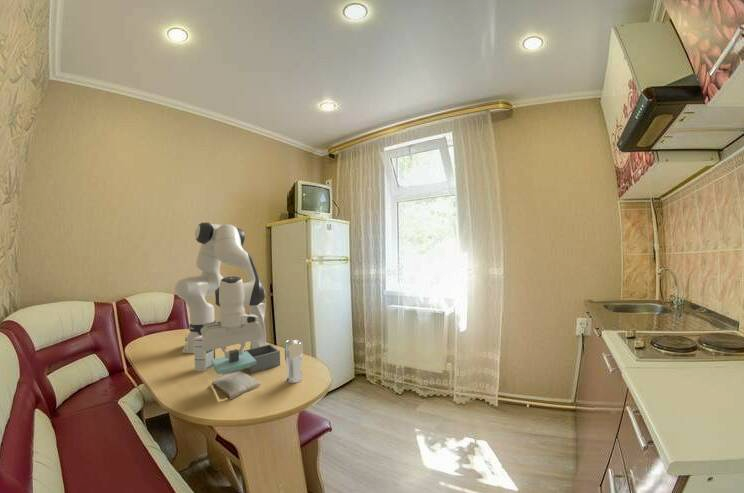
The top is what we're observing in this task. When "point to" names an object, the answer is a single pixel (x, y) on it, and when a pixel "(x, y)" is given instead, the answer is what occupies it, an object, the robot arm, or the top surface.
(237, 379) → the washcloth
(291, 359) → the beer glass
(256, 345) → the skyscraper
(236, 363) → the lid
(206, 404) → the top surface
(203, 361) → the syrup box
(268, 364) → the box
